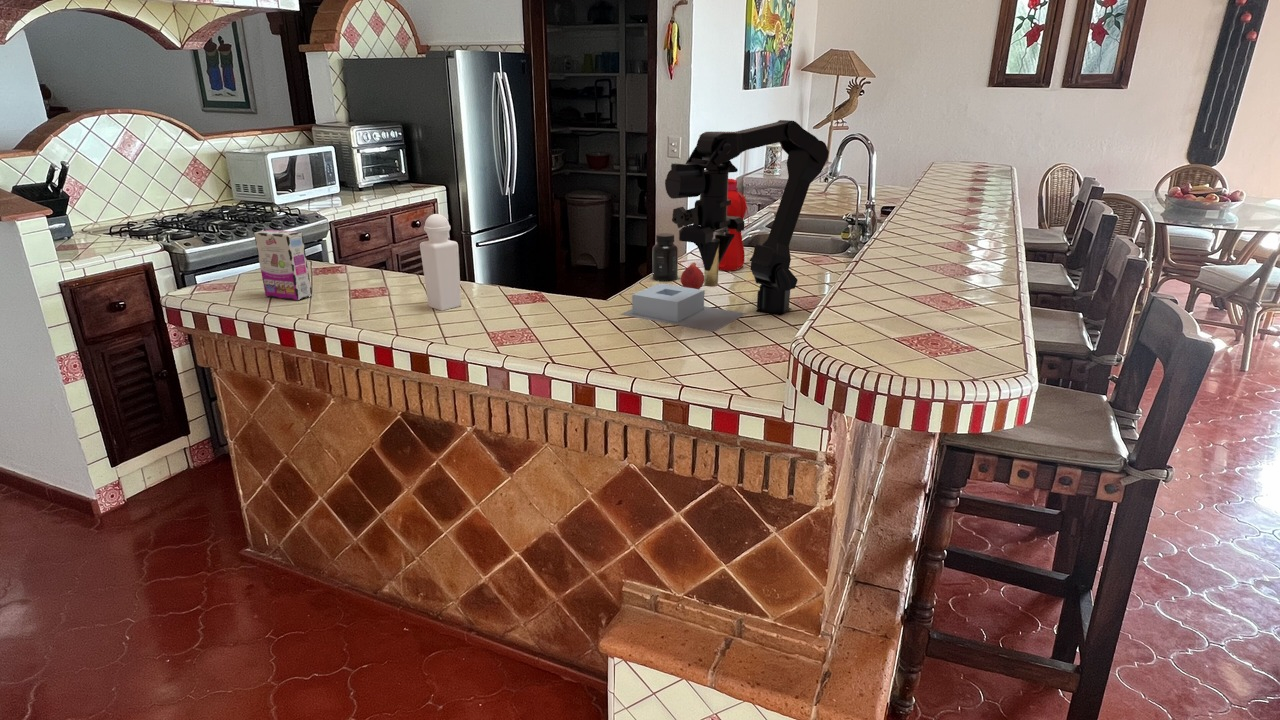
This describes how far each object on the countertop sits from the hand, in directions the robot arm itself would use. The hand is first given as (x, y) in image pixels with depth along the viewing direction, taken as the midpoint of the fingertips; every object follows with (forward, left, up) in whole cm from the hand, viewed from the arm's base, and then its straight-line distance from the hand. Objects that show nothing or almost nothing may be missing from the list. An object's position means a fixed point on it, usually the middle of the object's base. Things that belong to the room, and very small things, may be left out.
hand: (711, 269), depth 159 cm
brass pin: (0, 0, -4) cm, 4 cm away
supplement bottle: (+30, -30, -13) cm, 44 cm away
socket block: (+12, -2, -12) cm, 17 cm away
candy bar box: (+100, +37, -13) cm, 107 cm away
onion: (+16, -20, -13) cm, 29 cm away
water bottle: (+21, -50, -13) cm, 56 cm away
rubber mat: (+8, -2, -12) cm, 15 cm away
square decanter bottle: (+60, +22, -13) cm, 65 cm away
